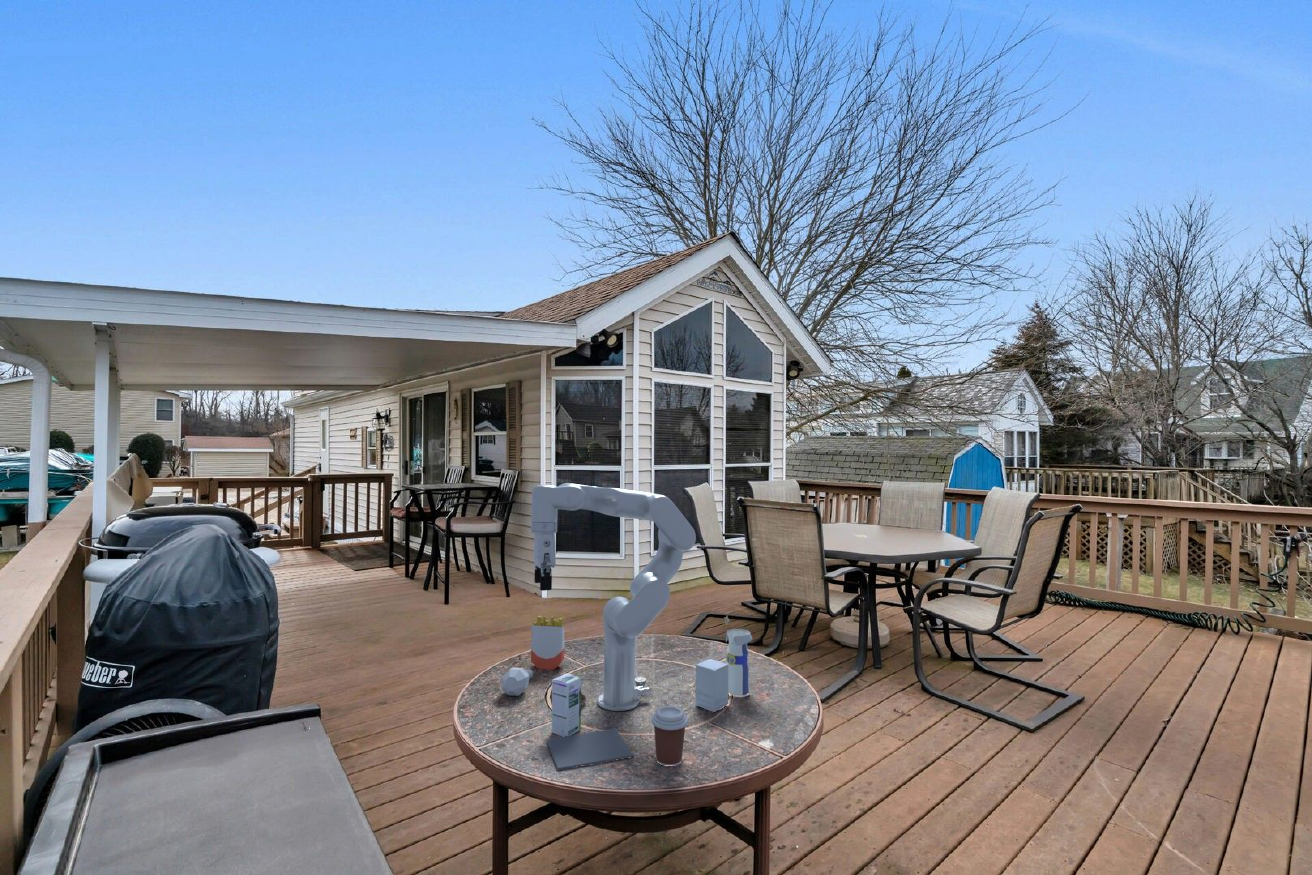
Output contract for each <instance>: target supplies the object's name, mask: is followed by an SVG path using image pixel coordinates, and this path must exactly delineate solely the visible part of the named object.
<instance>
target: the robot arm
mask: <svg viewBox="0 0 1312 875" xmlns="http://www.w3.org/2000/svg"><path fill="white" fill-rule="evenodd" d="M558 510H565V511H578V510H585V511H586V510H587V511H591V512H597V513H600V514H603V515H606V516H611V517H618V518H627V519H635V520H644V521H645V520H646V521H651V522H654V524H655V526H656V527H657V528H658V532H657V537H658V549H657V550H656V551H657V552H656V553H655V555H654V556H653V558H652V559H651V560H650V561H649V562H648V563H647V564H646V565H645V567H644V568H642V569H641V571H640V572H638V574H637V575H636V576H635V577H634V578H633V579H632V581H631V583H630V585H629V591H630V594H631V596H632V598H631V599H629V598H626V597H623V596H614V597H612V598H610V599H609V600H608V601H607V602H606V603H605V606H604V608H603V611H602V623H603V638H604V642H603V644H604V645H603V681H602V682H603V684H602V686H603V687H602V689H603V690H602V691H603V692H602V693H601V694H600V695H599V696H598V699H597V704H598V706H600V707H601V708H602V709H605V710H606V711H607V710H609V711H612V712H613V711H614V712H622V711H623V712H624V711H629V710H633V709H636V707H638V705H640V697H641V696H646V695H650V693H651V690H650V688H649V687H643V685H639V686H636V684H635V682H636V675H635V674H636V648H637V647H636V642H637V641H636V637H638V636H640V635H641V634H642V633H644V631H645V630H646V629H647V628H648V627H649V626H650V625H651V624H652V623H653V621H654V620H655V619H656V618H657V617H658V616H659V615H660V614H661V612H662V611H663V610H664V609H665V608H666V607H667V605H668V603H669V601H670V599H671V598H670V596H671V590H670V585H669V582H670V581H671V579H673V578H674V576H675V575H676V574H677V573H678V571H679V569H680V567H681V565H682V562H683V557H684V552H687V551H690V550H691V549H692V548H693V547H694V546H695V544H696V540H697V537H696V536H697V534H696V531H695V529H694V527H693V526H692V525H691V524H690V522H689V521H688V520H687V518H686V517H685V516H684V514H683V513H682V512H681V511H680V510H679V508H678V507H677V506H676V505H675V503H674V502H673V501H672V500H671V498H669V497H668V496H666V495H664V494H659V493H654V492H646V491H639V490H633V489H632V490H630V489H624V488H617V487H600V486H593V485H592V486H591V485H584V484H577V483H570V482H565V483H562V484H559V485H558V486H556V485H554V484H552V485H551V484H538V485H534V486H533V487H532V490H531V512H530V515H531V516H530V533H531V534H534V536H533V537H534V540H533V563H534V568H535V569H534V583H535V584H539V590H540V591H541V592H543V591H544V592H546V591H552V586H553V585H552V582H553V573H552V572H553V571H552V568H555V567H556V538H555V537H556V536H555V534H557V532H558Z"/></svg>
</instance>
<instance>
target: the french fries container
mask: <svg viewBox="0 0 1312 875" xmlns="http://www.w3.org/2000/svg"><path fill="white" fill-rule="evenodd" d="M530 636H531V637H530V638H531V641H530V642H531V644H530V662H531V663H532V664H533V665H534V666H535V667H536V668H537V669H539V670H555V669H556V668H557V667H558V666H560V665H561V664H562V662H563V661H564V660H565V626H564V621H563V618H562V617H561V618H558V619H555V616H551V617H550V622H549V620H548V619H547V616H542V615H538V616H536V620H535V621H534V622H533V623H532V624H531V634H530Z"/></svg>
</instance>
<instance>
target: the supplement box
mask: <svg viewBox="0 0 1312 875" xmlns="http://www.w3.org/2000/svg"><path fill="white" fill-rule="evenodd" d="M727 704H728V705H729V696H728V664H727V663H724V662H721V661H718V660H716V659H715V660H714V659H712V658H709V659H706V660H704V661H702V662H699V663H697V664H695V707H697V706H700V707H702V708H705V709H707V710H712V711H716V710H719V709H720V708H722V707H723V706H726V705H727ZM702 708H701V709H702ZM705 709H704V710H705ZM707 710H706V711H707Z"/></svg>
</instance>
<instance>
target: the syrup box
mask: <svg viewBox="0 0 1312 875" xmlns="http://www.w3.org/2000/svg"><path fill="white" fill-rule="evenodd" d="M551 681H552V682H551V733H552V734H556V735H558V736H559V737H563V736H570V735H575V734H576V733H577V732H579V731H581V728H582V721H581V720H582V677H581V676H578V675H576V674H573V673H564V674H562V675H560V676H558V677H556V678H553V679H551Z"/></svg>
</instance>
